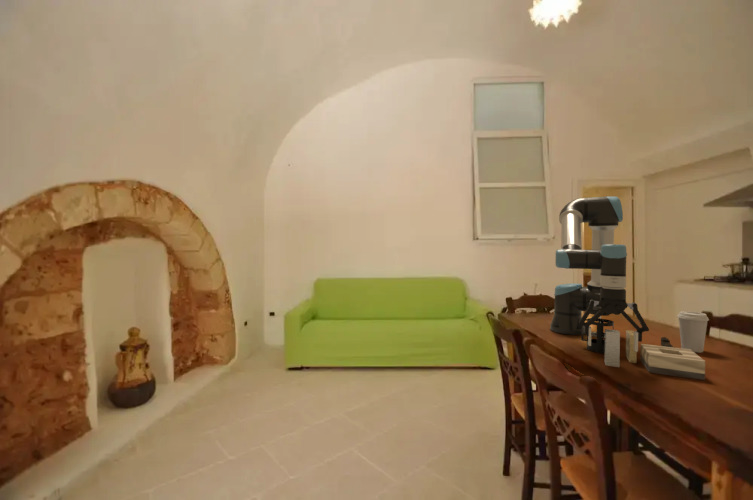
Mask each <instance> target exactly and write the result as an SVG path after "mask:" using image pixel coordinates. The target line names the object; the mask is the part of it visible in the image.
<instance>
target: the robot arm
mask: <svg viewBox="0 0 753 500" xmlns="http://www.w3.org/2000/svg"><path fill="white" fill-rule="evenodd" d="M558 220H559V224H560V226H561V228H560V229H561V233H560V234H561V235H560V237H561V238H560V241H561V243H560V249H557V250H555V267H556V268H558V269H572V270H573V269H575V270H577V269H578V270H591V272H590V273H591V275H590V280H589V281H588V282H587V283H586V284H587V285H586V286H583V285H582V283H573V282H572V283H562V284H558V285H556V286H555V288H554V315H553V317H552V319H551V323H550V327H549V328H550V331H552V332H554V333H558V334H564V335H570V336H571V335H572V336H573V335H574V336H582V325H583V335H585V336H586V337H587V336H588V345H589V346H591V339H592V336H591V332H592V326H591V325H592V323H593V322H597V321H596V320H597V319H598V318H600V316H601V315H603V314H604V313H607V314H610V315H615V316H620V315H622V316H623V317H624V318H625V319H626V320H627V322H628V323H630V325H631V326H632V327H633V328H634V329H636V330H633V332H634V350H635V351H636V352H637V353H638V352H639V343H640V342H642V341H643V333H644V332H649V331H650V328H649V327H648V325H647V323H646V321H645V320H644V318H643V316H642V315H641V312H640V311H639V310H638V304H637V303H636V302H631V303H630V302H628V303H627V290H626V289H625V288H627V257H628V253H627V246H626V244H617V243H615V229H616V228H618V227H619V223H622V222H623V220H624V213H623V206H622V201H621V199H620V198H619V197H618V196H613V195H612V196H611V195H610V196H607V195H606V196H595V197H579V198H575V199H572V200H571V201H569V202H568V203H566V205H564V207H563V208H562V209H561V210H560V212H559V217H558ZM582 223H584V224H585V223H588V228H589V229H591V249H583V246H582V242H583V241H582V226H581V225H582ZM595 293H600V298H599V295H596V294H595ZM596 306H597V307H601V309H600V310H599V311H598V312H597V313H596V314H595V315H594V314H593V315H592V316H591V317H590V319H589V318H588V317H589V315H591V314H590V312H591V311H592V309H593V307H596ZM627 308H629V309H630V310H632V311H633V313H634V315H635V317H636V319H637V320H638V322H639V324H640V325H641V327H640V326H639V325H638V324H637V323H636V322H635V321H634V320H633V318H631V316H629V314H628V313H626V311H625V310H626V309H627ZM582 312H584V313H583V315H582ZM601 317H602V316H601ZM586 319H589V320H588V321H585V320H586Z"/></svg>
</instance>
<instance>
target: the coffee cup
mask: <svg viewBox="0 0 753 500" xmlns="http://www.w3.org/2000/svg"><path fill="white" fill-rule="evenodd" d="M676 317H677V318H678V327H679V336H680V348H683V349H691V350H692V351H693V352H694V353H699V354H700V353H704V348H705V341H706V333H707V327H708V321H710V319H709V317H708V316H707V314H706V313H704V312H697V311H688V310H687V311H686V310H685V311H684V310H683V311H679V313H678V314H677V316H676Z"/></svg>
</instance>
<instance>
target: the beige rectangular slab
mask: <svg viewBox="0 0 753 500" xmlns="http://www.w3.org/2000/svg"><path fill="white" fill-rule="evenodd" d="M637 353H638V352H636V351H635V350H634V330H628V329H626V330H625V357H626V359H627V360H628V362H629V363H631V364H637Z"/></svg>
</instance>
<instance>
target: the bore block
mask: <svg viewBox="0 0 753 500" xmlns="http://www.w3.org/2000/svg"><path fill="white" fill-rule="evenodd" d="M639 356H640V361H641V363H642V364H643V366H644V367H645V369H646V371H648V373H652V374H658V375H659V374H660V375H666V376H672V377H680V378H687V379H694V380H700V381H706V360H705V359H703V358H702V357H700V356H699V355H698V354H697V352H693V351H692V350H691V349H683V348H681V347H675V348H674V346H673V347H665V346H661V345H655V344H647V343H646V344H645V343H640V355H639Z"/></svg>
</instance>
